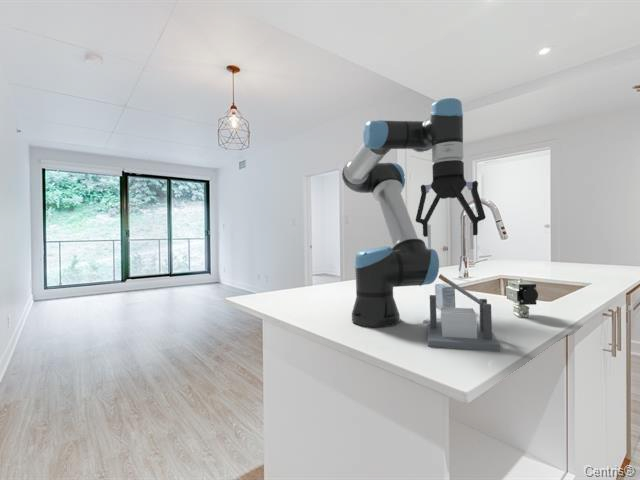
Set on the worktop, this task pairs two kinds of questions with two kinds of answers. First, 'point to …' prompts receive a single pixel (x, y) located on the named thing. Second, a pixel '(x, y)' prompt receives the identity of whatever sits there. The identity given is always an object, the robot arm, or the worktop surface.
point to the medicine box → (445, 296)
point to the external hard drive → (438, 318)
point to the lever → (462, 290)
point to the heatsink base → (462, 341)
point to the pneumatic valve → (521, 296)
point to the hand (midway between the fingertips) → (449, 248)
